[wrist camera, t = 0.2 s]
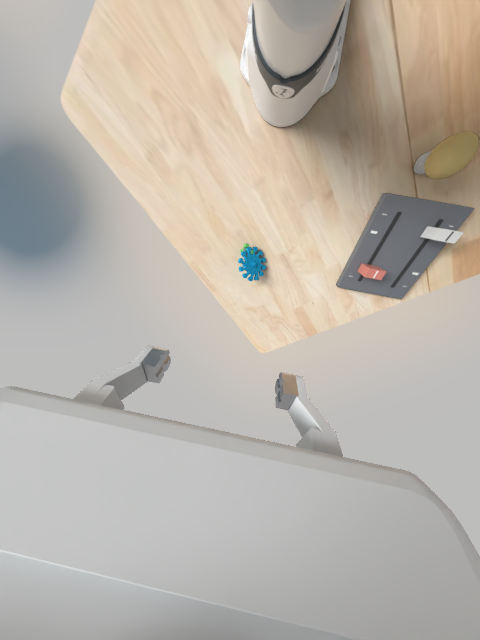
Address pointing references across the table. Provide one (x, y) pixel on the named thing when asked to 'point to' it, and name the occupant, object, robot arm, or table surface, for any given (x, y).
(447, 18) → the table surface
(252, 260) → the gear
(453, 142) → the light bulb
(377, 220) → the console
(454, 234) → the grey fader
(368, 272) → the red fader
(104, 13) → the table surface
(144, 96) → the table surface
